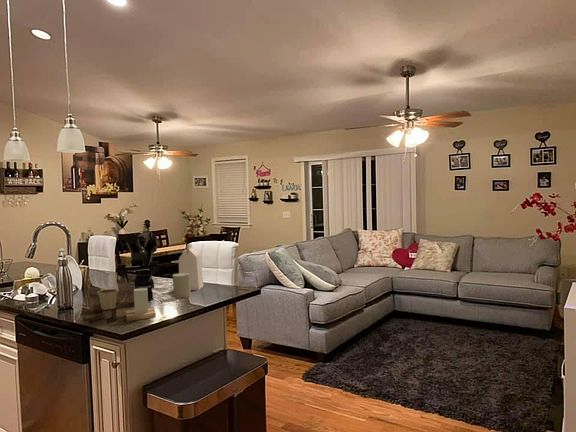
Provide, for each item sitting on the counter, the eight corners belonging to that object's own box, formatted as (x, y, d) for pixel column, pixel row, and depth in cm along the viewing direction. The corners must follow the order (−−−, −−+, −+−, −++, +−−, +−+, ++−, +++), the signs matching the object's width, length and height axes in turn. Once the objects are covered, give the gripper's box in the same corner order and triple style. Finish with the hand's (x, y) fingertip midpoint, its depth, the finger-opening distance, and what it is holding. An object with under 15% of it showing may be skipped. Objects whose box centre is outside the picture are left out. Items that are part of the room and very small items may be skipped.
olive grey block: (186, 297, 230) (185, 275, 229) (170, 297, 232) (169, 275, 231) (193, 293, 239) (192, 272, 238) (178, 293, 241) (177, 272, 240)
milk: (199, 289, 250) (196, 244, 249) (179, 290, 250) (176, 245, 249) (203, 285, 262) (201, 242, 261) (184, 286, 262) (182, 243, 261)
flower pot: (121, 305, 217) (120, 288, 217) (115, 310, 208) (114, 292, 208) (102, 306, 217) (101, 289, 217) (95, 311, 208) (94, 293, 207)
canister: (135, 310, 197) (134, 288, 197) (148, 309, 199) (147, 287, 198) (134, 313, 192) (133, 291, 191) (148, 312, 193) (147, 290, 193)
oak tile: (126, 316, 198) (126, 310, 198) (154, 312, 203) (153, 307, 203) (126, 322, 187) (126, 316, 187) (155, 318, 191) (155, 313, 191)
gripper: (115, 247, 204) (116, 274, 194) (156, 244, 210) (159, 270, 200) (117, 262, 211) (117, 288, 201) (156, 259, 218) (159, 284, 208)
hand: (138, 282), depth 203 cm, fingers open, 9 cm apart
